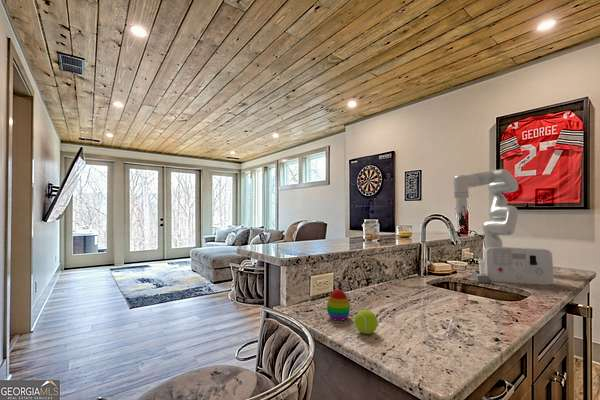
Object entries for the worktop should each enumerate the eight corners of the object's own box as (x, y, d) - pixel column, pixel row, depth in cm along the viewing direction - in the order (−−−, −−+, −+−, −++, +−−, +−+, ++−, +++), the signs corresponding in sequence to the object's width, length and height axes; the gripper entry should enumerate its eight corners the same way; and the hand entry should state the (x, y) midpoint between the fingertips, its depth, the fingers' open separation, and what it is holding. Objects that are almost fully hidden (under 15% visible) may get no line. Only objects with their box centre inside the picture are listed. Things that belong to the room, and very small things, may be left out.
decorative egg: (322, 318, 102) (322, 290, 103) (335, 312, 108) (334, 285, 109) (342, 323, 97) (341, 294, 97) (354, 317, 103) (353, 289, 104)
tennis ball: (366, 326, 94) (365, 305, 95) (382, 334, 88) (381, 311, 89) (350, 331, 91) (349, 309, 91) (366, 339, 85) (365, 316, 85)
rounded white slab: (488, 282, 152) (487, 248, 153) (485, 279, 159) (484, 246, 160) (556, 286, 142) (554, 250, 142) (548, 283, 149) (547, 248, 150)
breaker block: (471, 276, 165) (471, 270, 165) (481, 276, 164) (481, 270, 164) (477, 282, 151) (477, 275, 151) (488, 283, 150) (488, 276, 150)
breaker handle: (478, 276, 155) (478, 260, 155) (483, 276, 154) (483, 260, 154) (480, 277, 152) (479, 261, 152) (485, 278, 151) (484, 261, 152)
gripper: (452, 196, 182) (453, 225, 181) (456, 195, 168) (457, 226, 167) (465, 196, 179) (466, 225, 178) (471, 194, 165) (472, 226, 164)
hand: (462, 225), depth 173 cm, fingers closed
